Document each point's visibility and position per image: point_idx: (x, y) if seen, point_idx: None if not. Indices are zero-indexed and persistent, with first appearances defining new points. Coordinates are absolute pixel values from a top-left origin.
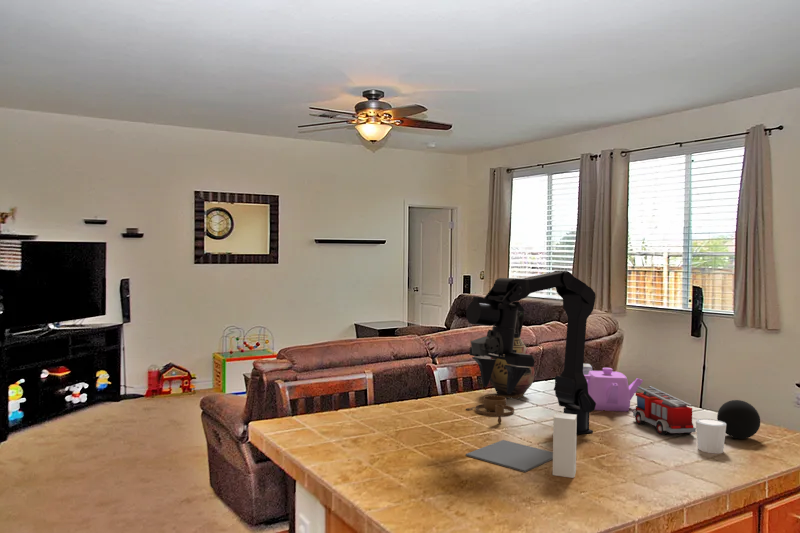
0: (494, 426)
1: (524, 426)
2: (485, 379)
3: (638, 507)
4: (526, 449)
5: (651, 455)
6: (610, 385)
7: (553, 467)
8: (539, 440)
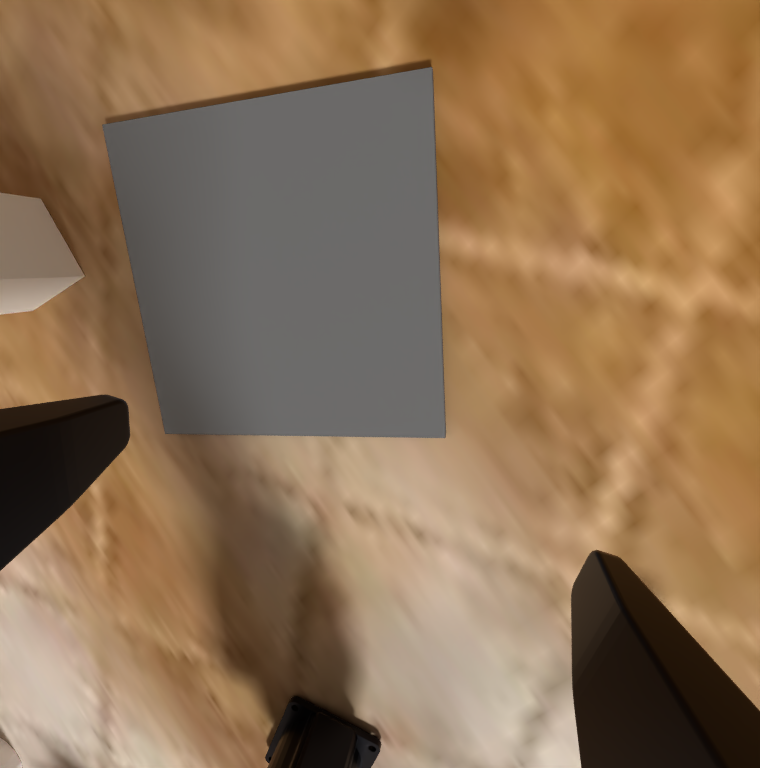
0: None
1: (518, 702)
2: (615, 653)
3: None
4: (279, 385)
5: (31, 626)
6: None
7: (7, 195)
8: (342, 555)
